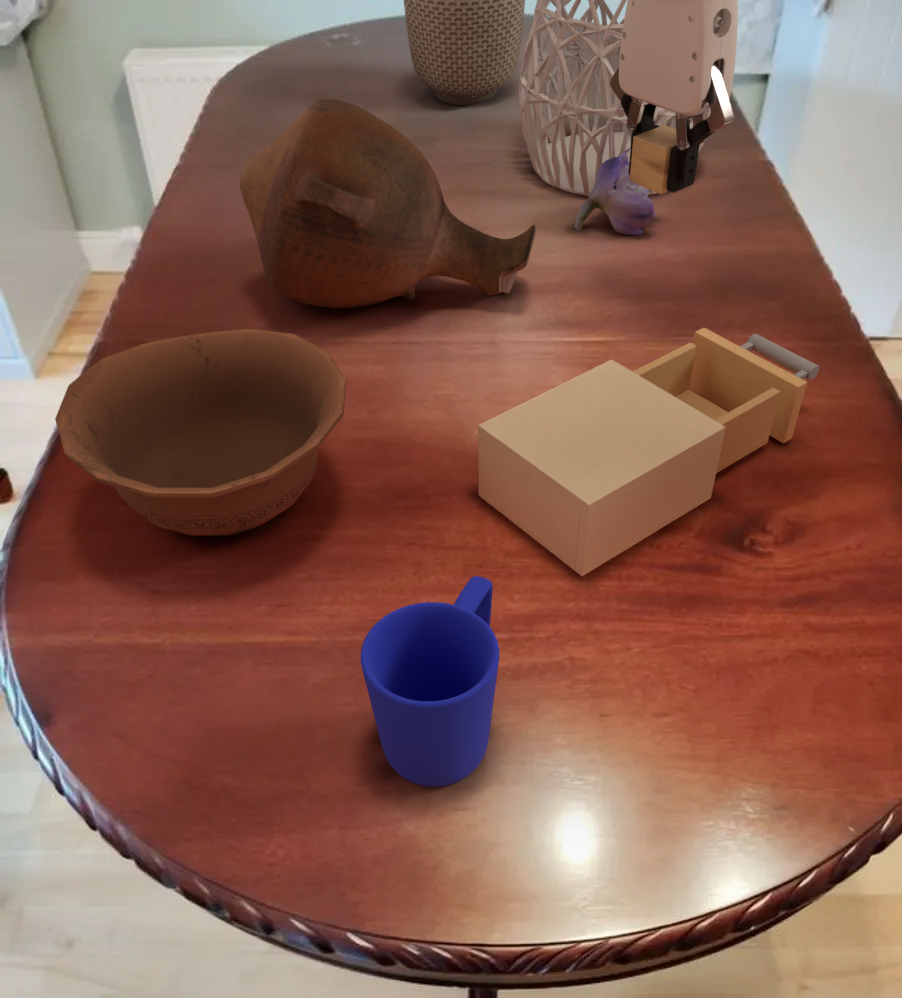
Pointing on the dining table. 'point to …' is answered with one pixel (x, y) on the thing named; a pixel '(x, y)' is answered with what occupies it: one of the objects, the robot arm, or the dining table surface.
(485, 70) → the planter
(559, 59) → the vase
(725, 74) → the robot arm
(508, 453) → the cabinet
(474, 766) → the mug
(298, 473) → the bowl
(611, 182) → the flower
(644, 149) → the block
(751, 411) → the drawer
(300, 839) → the dining table surface
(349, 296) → the jug
